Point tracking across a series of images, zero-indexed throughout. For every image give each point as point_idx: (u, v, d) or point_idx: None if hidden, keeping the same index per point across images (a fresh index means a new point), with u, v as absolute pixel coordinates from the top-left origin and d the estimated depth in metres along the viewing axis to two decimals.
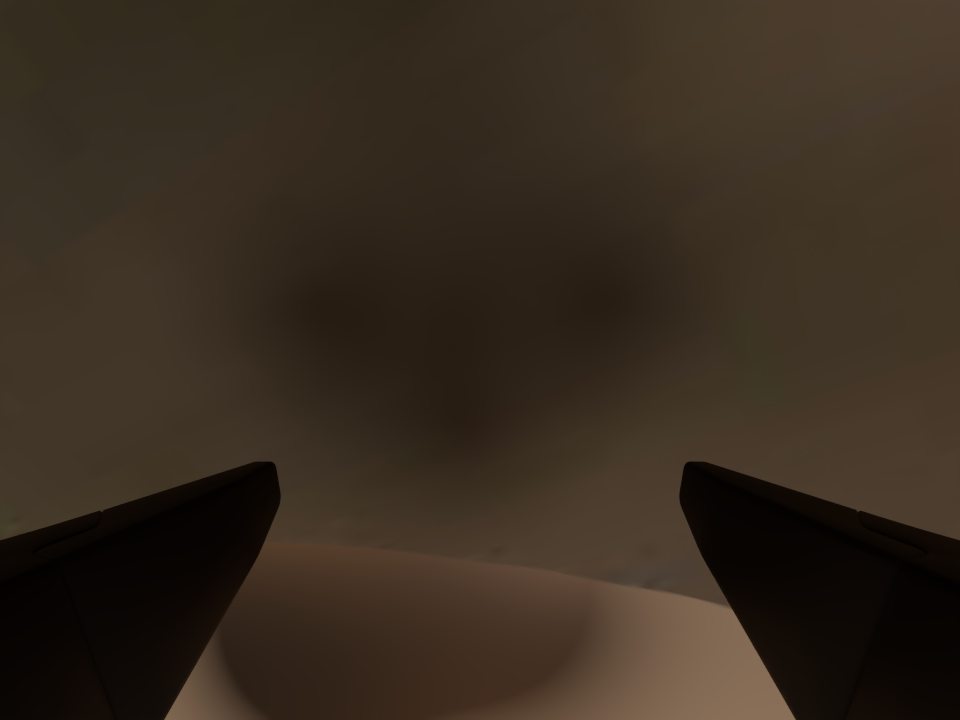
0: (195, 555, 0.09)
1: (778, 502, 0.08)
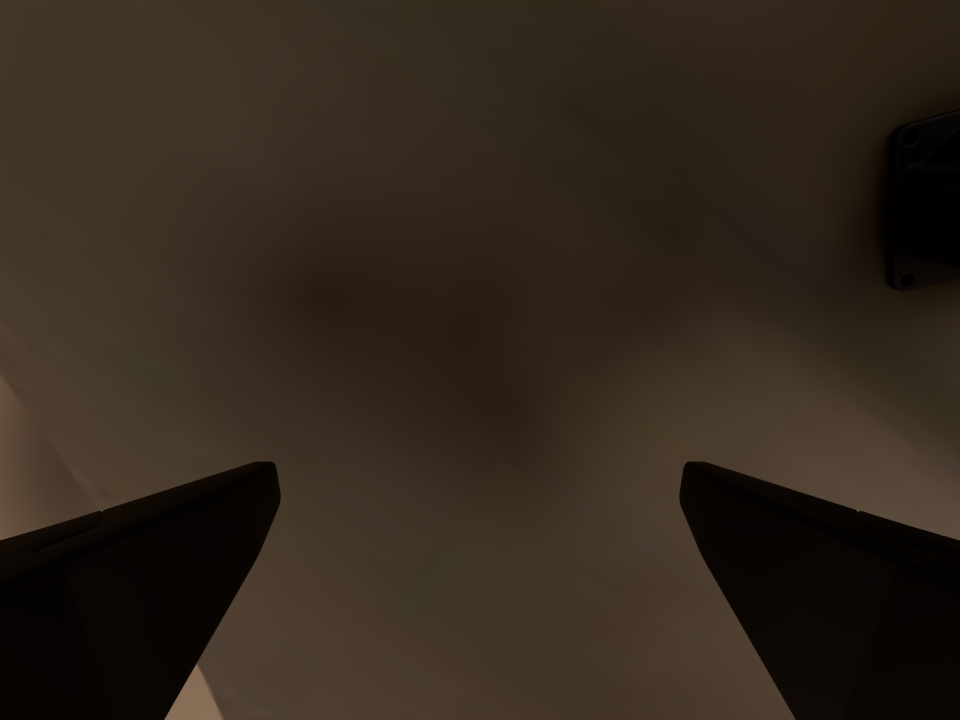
0: (195, 555, 0.09)
1: (778, 502, 0.08)
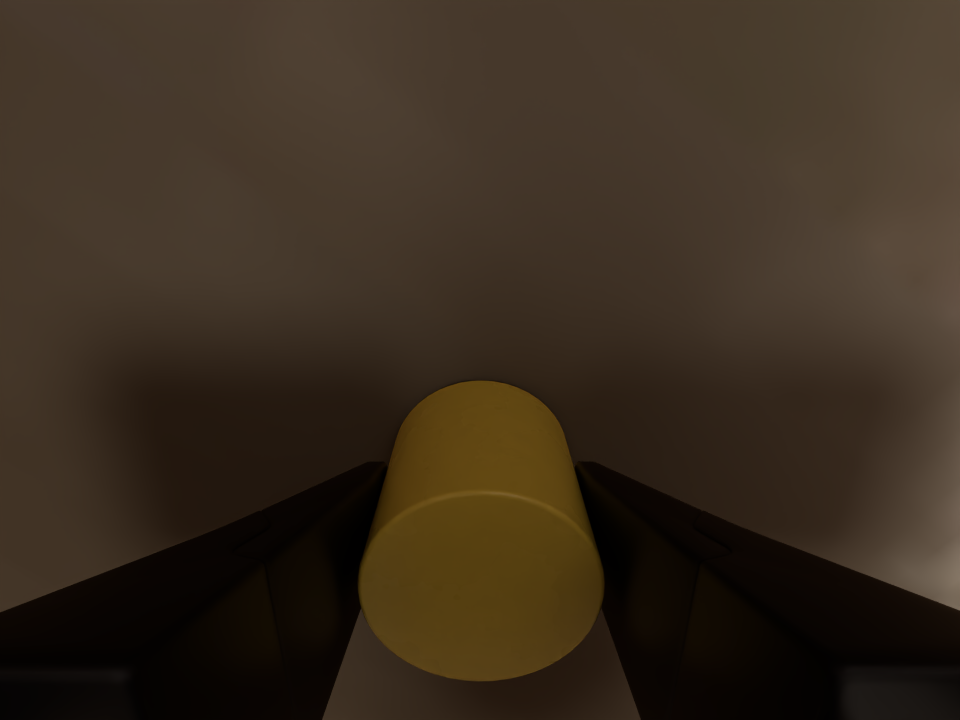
0: (343, 555, 0.09)
1: (629, 502, 0.08)
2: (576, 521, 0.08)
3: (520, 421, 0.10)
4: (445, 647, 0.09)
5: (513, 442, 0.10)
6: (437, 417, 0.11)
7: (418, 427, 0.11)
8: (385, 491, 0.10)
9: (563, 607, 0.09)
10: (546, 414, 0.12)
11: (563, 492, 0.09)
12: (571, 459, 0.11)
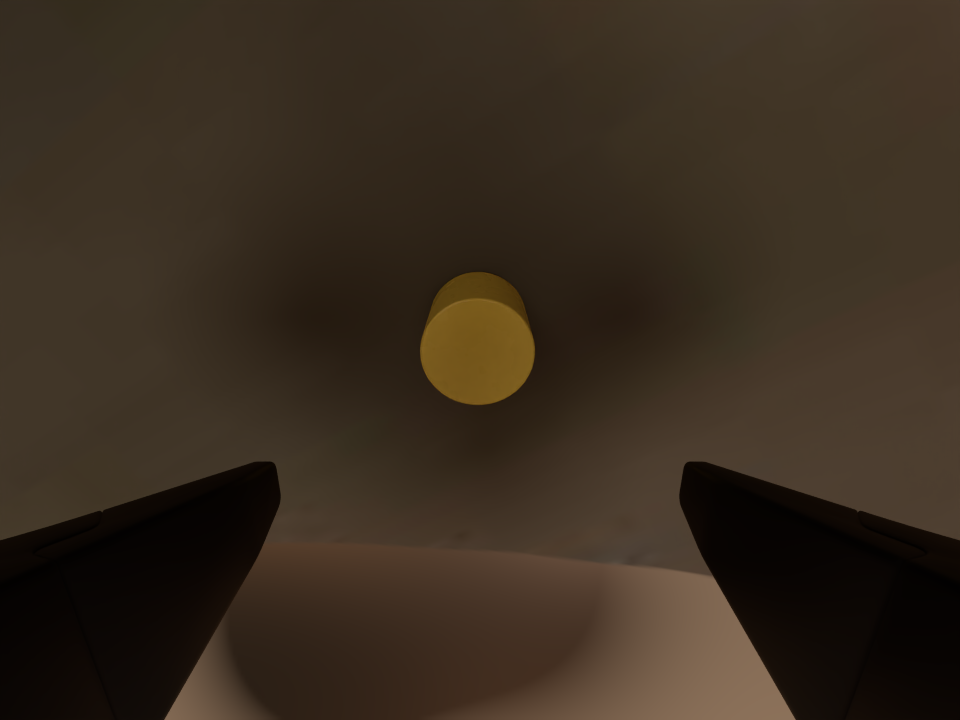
0: (195, 555, 0.09)
1: (778, 502, 0.08)
2: (520, 315, 0.19)
3: (497, 285, 0.21)
4: (460, 384, 0.19)
5: (493, 289, 0.20)
6: (455, 284, 0.21)
7: (445, 290, 0.21)
8: (431, 313, 0.20)
9: (515, 360, 0.19)
10: (512, 288, 0.22)
11: (516, 307, 0.19)
12: (525, 310, 0.21)
